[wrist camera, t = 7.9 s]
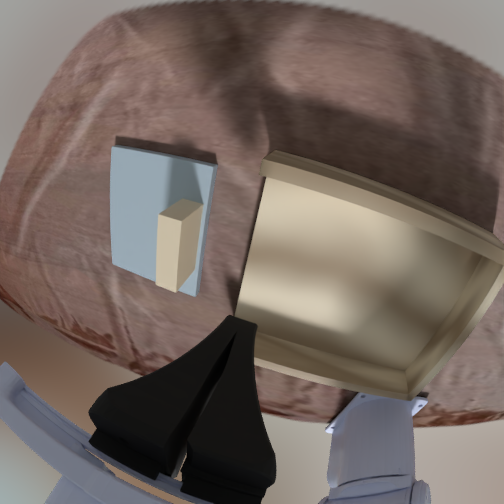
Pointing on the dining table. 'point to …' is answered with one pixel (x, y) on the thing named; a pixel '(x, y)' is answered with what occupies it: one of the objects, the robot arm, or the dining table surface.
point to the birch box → (361, 280)
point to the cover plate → (160, 215)
